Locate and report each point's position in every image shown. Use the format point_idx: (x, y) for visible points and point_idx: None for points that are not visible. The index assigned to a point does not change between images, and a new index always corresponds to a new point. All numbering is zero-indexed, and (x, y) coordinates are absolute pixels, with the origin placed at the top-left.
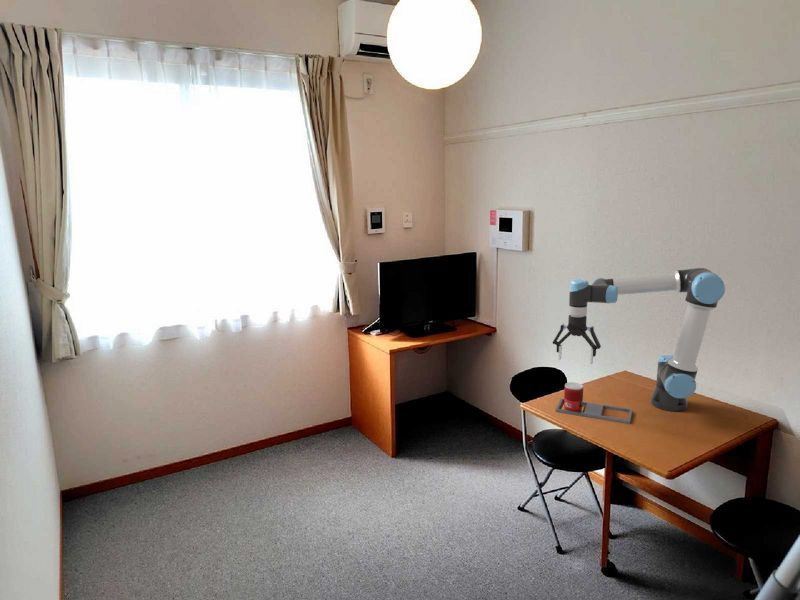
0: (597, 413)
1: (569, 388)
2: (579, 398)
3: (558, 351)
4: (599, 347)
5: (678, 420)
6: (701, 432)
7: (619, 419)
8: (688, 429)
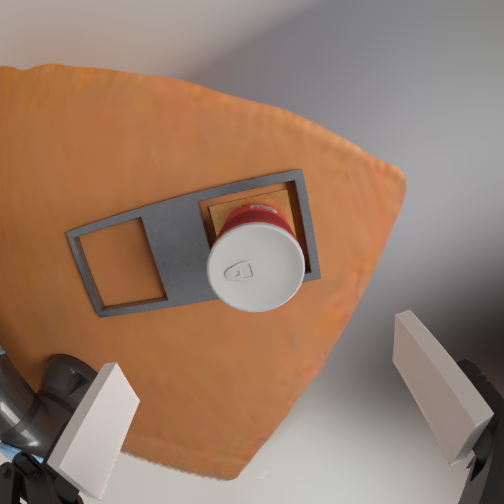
0: (155, 225)
1: (264, 223)
2: (219, 232)
3: (457, 372)
4: (2, 471)
5: (28, 314)
6: None
7: (88, 224)
8: (2, 279)
